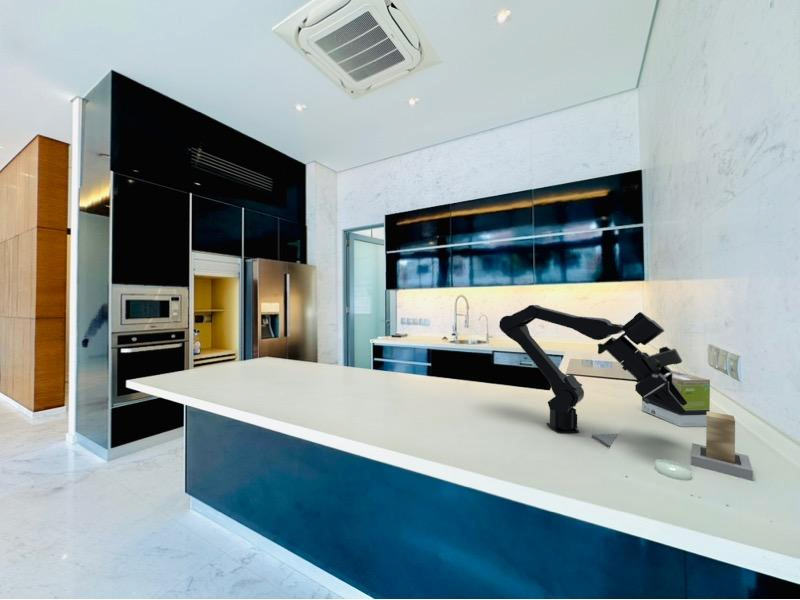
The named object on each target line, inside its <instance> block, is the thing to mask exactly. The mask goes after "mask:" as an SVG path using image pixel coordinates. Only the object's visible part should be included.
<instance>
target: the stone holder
mask: <svg viewBox="0 0 800 600" xmlns="http://www.w3.org/2000/svg"><path fill="white" fill-rule="evenodd" d="M691 445H692V446H691V455H690V459H691V460H690V461H691V462H690V463H691V466H695V467H696V468H697V467H698V468H700V469H701V468H702V469H704V470H708V471H714V472H717V473H721V474H724V475H729V476H732V477H736V478H741V479H743V480H746V481H747V480H748V481H754V470H753V467H752V463H751V461H750V458H749V457H750V456H749V455H748V454H742V453H739V452H735V464H732V463H728V462H724V461H720V460H716V459H711V458H707V457H706V445H703V444H699V443H693V442H692V443H691Z"/></svg>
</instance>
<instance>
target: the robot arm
mask: <svg viewBox="0 0 800 600" xmlns="http://www.w3.org/2000/svg"><path fill="white" fill-rule="evenodd" d="M536 319H537V320H541V321H544V322H547V323H551V324H554V325H558V326H562V327H564V328H565V327H566V328H569V329H572V330H574V331H575V332H578V333H580V334H581V335H584V336H585V337H587V338H590V339H592V340H595V341H601V340H605V339H607V338H608V339H607V340H606V341H605V342H604V343H597V349H598V350H597V354H598V355H602V354H603V353H605V352H607V353H608V354H610V355H611V357H612V358H614V360H616V361H617V362H618V363H619V364H620V365H621V366H622V367H621V368H622V370H624V371H625V372H626V371H627V372H628V373H629V374H630V375H631V376H632V377H633V378H634V379H636V380H635V382H636V384H635V385H634V386H635V392H636V393H637V394H638V395H639V396H640V397H641V398H642V397H643V396H645V395H646V396H645V398H646V399H650V400H652V401H654V402H656V403H659V404H661V405H663V406H665V407H667V408H669V409H672V410H674V411H676V412H678V413H680V414H684V413H686V411H685V409H684V408H683V407H682V405H686V404H687V401H686V400H685V399H684V397H683V396H682V395H681V393H680V392H679V390H678V389H677V388H676V386H675V385H674V383H673V382H672V376H673V373H671V374H669V375H667V376H666V375H665V374H667V373H670V372H671V368H669V367H668V366H670V365H678V364H681V363H682V362H683V359H682V358H681V356H680V353H679V352H678V351H677V349H676V348H672V349H671V348H669V347H668V346H662V347H659V349H658V350H659V351H658V352H656V353H655V354H654V353H653V354H651V355H649V354H648V353H647V352H642V351H641V350H640V349H639V348H638V347H637V346H639V345H640V344H641V345H642V346H646V345H648V344H649V343H650V342H652V341H653V340H655V339H656V338H657V337H658V336H660V335H661V334H662V333H664V332H665V329H664V328H663V327H662V326H661V325H660V324H658V323H657V321H656V320H654V319H651V318H650V317H649V316H647V315H646V314H645V313H643V312H641V311H638V312H637V313H636V314H635V315H634V316H633V318H631V319H630V320H629V321H627V322H626V323H625V324H621V323H620V324H616V323H613V322H611V321H610V319H607V318H603V317H591V316H579V315H575V314H572V313H571V314H570V313H566V312H562V311H559V310H556V309H552V308H547V307H543V306H540V305H538V304H530V305H528V306H526V307H525V308H523V309H520V310H518V311H517V312H514V313H512V314H511V315H505V316H503V317H502V318H500V320H499V325H498V327H499V329H500V330H501V332H503V334H505V335H506V337H508V338H509V339H511V340H513V341H514V342H516V343H517V344H518V345H519V346H520V347H521V349H522V350H523V352H525V353H526V355H527V356H528V357H529V358H530V360H531V361H532V362H533V363H534V364H535V366H536V367H537V368H538V369H539V371H540V372H541V373H542V375H543V376H544V377H545V378H546V379H547V381H548V382H549V385H550V388H551V391H552V393H553V394H554V397H551V399H549V400H548V401H547V405H548V407H549V422H547V423H546V425H547V427H549V428H551V429H552V430H554V431H555V432H556V433H558V434H559V433H560V434H561V433H562V434H564V433H566V434H571V433H574V434H578V433H580V430H578V414H577V409H576V408H574V407H576V406H577V404H579V403H581V401H582V400H583V399H584V397H585V391H584V389H583V387H582V386H583V384H582V383H581V382H579V381H578V379H576V377H575V375H574V374H573V373H571V374H568V375H567V374H565V373H564V372H562V370H560V368H559V367H558V366H557V365H556V364H555V363H554V361H552V359H551V358H550V356H549V355H547V353H546V352H545V350H544V349H543V348H542V347H541V346H540V345H539V344H538V343H537V341H536V340H535V339H534V338H533V337H532V335H531V333H530V330H529V327H528V324H531V322H533V321H534V320H536ZM621 333H622V334H621ZM618 334H621V335H619V337H617V338H615V337H611V336H613V335H618ZM633 343H634V344H635V345H634V344H633ZM636 345H637V346H636ZM648 393H649V394H648ZM681 404H682V405H681Z"/></svg>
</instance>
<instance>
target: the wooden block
mask: <svg viewBox="0 0 800 600" xmlns="http://www.w3.org/2000/svg"><path fill="white" fill-rule="evenodd" d="M705 427H706V428H705V429H706V431H705V432H706V435H705V436H706V437H705V439H706V441H705V442H706V443H705V446H706V457H707V458H711V459H716V460H720V461H724V462H728V463H732V464H735V453H736V419H735V416H734V415H733V414H732V415H731V414H725V413H720V412H714V411H710V412H708V411H707V421H706V426H705Z"/></svg>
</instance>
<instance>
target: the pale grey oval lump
mask: <svg viewBox="0 0 800 600" xmlns="http://www.w3.org/2000/svg"><path fill="white" fill-rule="evenodd" d="M654 461H655V470H656V472H657V473H659V474H661V475H663V476H665V477H668V478H671V479H674V480H679V481H690V480H692V473H693V470H692V468H691V467H689V466H688V465H686V464H684V463H682V462H679V461H677V460H674V459H673V460H672V459H668V458H657V459H656V460H654Z"/></svg>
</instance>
